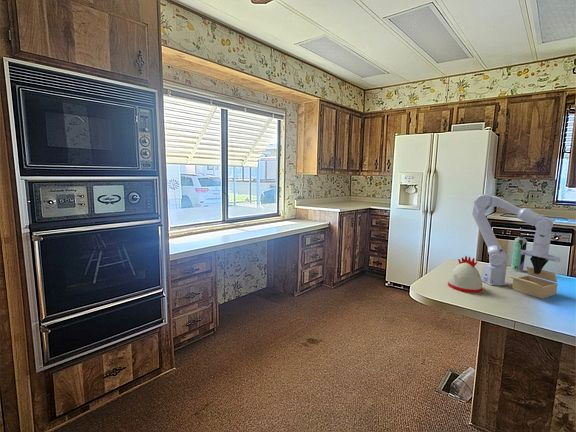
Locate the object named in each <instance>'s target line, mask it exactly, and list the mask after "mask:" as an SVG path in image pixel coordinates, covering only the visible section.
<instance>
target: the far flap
mask: <svg viewBox="0 0 576 432" xmlns="http://www.w3.org/2000/svg"><path fill="white" fill-rule="evenodd" d="M526 271H527V273H528V274H527V275H528V276H532V277H536V278H539V279H543V280H547V281H550V282H554V283H558V280H557V276H556V273H555V272H552V271H548V270H545V269H542V270H541V273H540V274H535V273H534V268H533V267H532V266H529V265H526Z"/></svg>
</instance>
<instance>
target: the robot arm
mask: <svg viewBox="0 0 576 432" xmlns="http://www.w3.org/2000/svg"><path fill="white" fill-rule="evenodd" d="M490 207H497V208H501V209H503V210H506V211H508V212H510V213H513V214H515V215H516V216H517V219H518V220H520V221H522V222H524V223H526V224H528V225H530V226H532V227H535V233H534V236H533V243H532V251H531V250H527V249H526V250H521V254H522V255H525V256H527V257H530V258H529V260H530V262H531V264H532V266H533V268H534V273H535V274H540V273H541V270H543V268H544V267H545V265H546V264H547V263H549V261H550V262H555V263H557V264H558V263H561V257H559V256H554V255H551V254H549V253H550V252H549V251H550V245H551V239H552V235H551V234H552V229H553V226H554V221H553V220H552V219H551V218H550V217H547V216H545V215H544V214H539V213H537V212H535V211H533V209H532V208H527V207H524V208H520V207H518V206H516V205H515V204H513V203H511V202H509V201H508V200H505V199H503V198H501V197H499V196H496V195H493V194H491V193H484V194H483V193H482V194H480V195H477V197H476V198H475V200H474V201H473V210H472V213H471V214H472V216H473V219H474V221H475V224H476V226H477V227H478V230H479V232H480V234H481V236H482V238H483V241H484V243H485V245H486V247H487V254H488V255H489V256H488V260H489V263H488V264H485V265H484V266H482V270H481V275H480V277H481V281H482V283H483V282H484V283H486V284H488V285H490V286H509V285H510V283H508V282H505V281H506V275H507V273H506V272H507V267H508V264H507V263H506V261H508V259H509V254H508V253H507V252H506V251H505V250H504V249H503V247H502V246H501V245H500V243H499V241H498V239H497V237H496V234H495V233H494V230H493V228H492V226H491V224H490V223H489V220H488V217H487V215H486V213H487V211H488V210H489V208H490Z"/></svg>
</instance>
